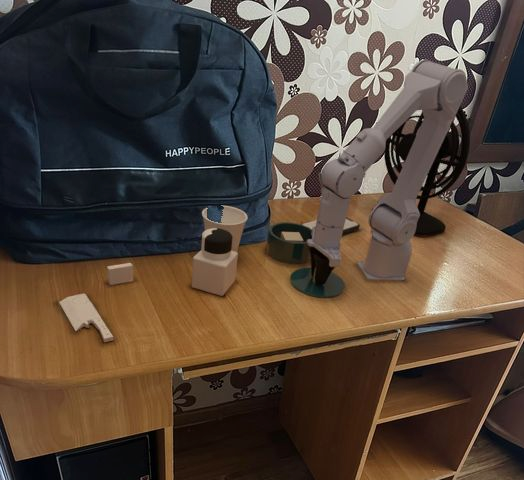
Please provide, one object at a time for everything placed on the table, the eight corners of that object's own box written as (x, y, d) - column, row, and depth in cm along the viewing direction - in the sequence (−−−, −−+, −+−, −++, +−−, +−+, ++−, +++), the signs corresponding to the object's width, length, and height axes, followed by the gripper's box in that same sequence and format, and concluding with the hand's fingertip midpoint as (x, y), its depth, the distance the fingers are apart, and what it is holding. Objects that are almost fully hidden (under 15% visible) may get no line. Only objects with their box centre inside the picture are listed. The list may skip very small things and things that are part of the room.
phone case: (321, 243, 130) (360, 230, 139) (322, 237, 129) (362, 224, 138) (297, 229, 135) (337, 217, 144) (298, 224, 134) (338, 212, 143)
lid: (334, 271, 118) (338, 255, 115) (351, 300, 109) (356, 283, 106) (284, 271, 115) (287, 254, 113) (297, 300, 106) (300, 282, 103)
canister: (305, 244, 127) (309, 223, 124) (317, 266, 119) (322, 244, 115) (262, 243, 125) (265, 221, 121) (271, 266, 116) (275, 242, 113)
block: (295, 249, 124) (299, 232, 121) (300, 258, 120) (303, 240, 118) (278, 249, 123) (281, 231, 120) (282, 257, 120) (285, 240, 117)
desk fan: (353, 207, 152) (384, 78, 130) (393, 200, 161) (429, 78, 139) (421, 246, 135) (469, 106, 114) (461, 236, 144) (513, 104, 123)
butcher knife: (84, 347, 85) (83, 342, 85) (59, 303, 95) (58, 298, 94) (113, 340, 88) (113, 335, 87) (86, 297, 97) (85, 292, 96)
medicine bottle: (235, 281, 109) (240, 230, 102) (222, 297, 103) (227, 243, 96) (205, 273, 110) (208, 221, 103) (191, 287, 105) (193, 234, 97)
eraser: (108, 282, 102) (107, 266, 100) (131, 278, 105) (130, 262, 103) (110, 285, 102) (109, 269, 99) (133, 281, 104) (132, 265, 102)
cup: (236, 274, 111) (241, 228, 105) (193, 265, 112) (195, 218, 106) (246, 254, 119) (252, 210, 113) (206, 246, 120) (209, 201, 113)
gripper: (302, 206, 107) (292, 263, 116) (322, 237, 96) (309, 297, 105) (334, 208, 109) (321, 263, 117) (356, 238, 98) (341, 297, 106)
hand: (317, 279), depth 111 cm, fingers closed on lid, 2 cm apart
